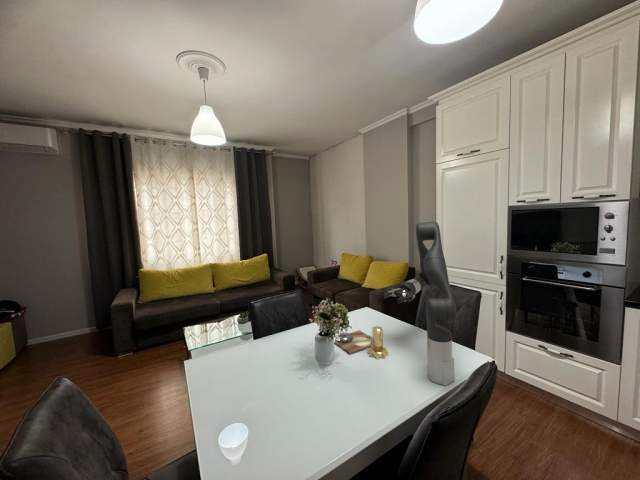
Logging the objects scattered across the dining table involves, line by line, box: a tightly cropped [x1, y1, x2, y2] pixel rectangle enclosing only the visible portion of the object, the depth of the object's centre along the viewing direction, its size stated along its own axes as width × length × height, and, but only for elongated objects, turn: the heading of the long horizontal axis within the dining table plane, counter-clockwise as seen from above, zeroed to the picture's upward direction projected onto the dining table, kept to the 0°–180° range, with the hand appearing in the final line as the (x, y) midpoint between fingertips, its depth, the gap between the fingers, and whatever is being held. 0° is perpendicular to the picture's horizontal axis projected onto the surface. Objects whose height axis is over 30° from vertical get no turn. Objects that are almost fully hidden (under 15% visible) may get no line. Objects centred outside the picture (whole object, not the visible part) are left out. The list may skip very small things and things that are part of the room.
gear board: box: [334, 329, 373, 356], centre depth 140 cm, size 18×20×1 cm
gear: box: [338, 331, 353, 344], centre depth 141 cm, size 10×9×4 cm
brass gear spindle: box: [367, 325, 389, 360], centre depth 126 cm, size 10×10×13 cm
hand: (390, 299), depth 127 cm, fingers open, 8 cm apart
